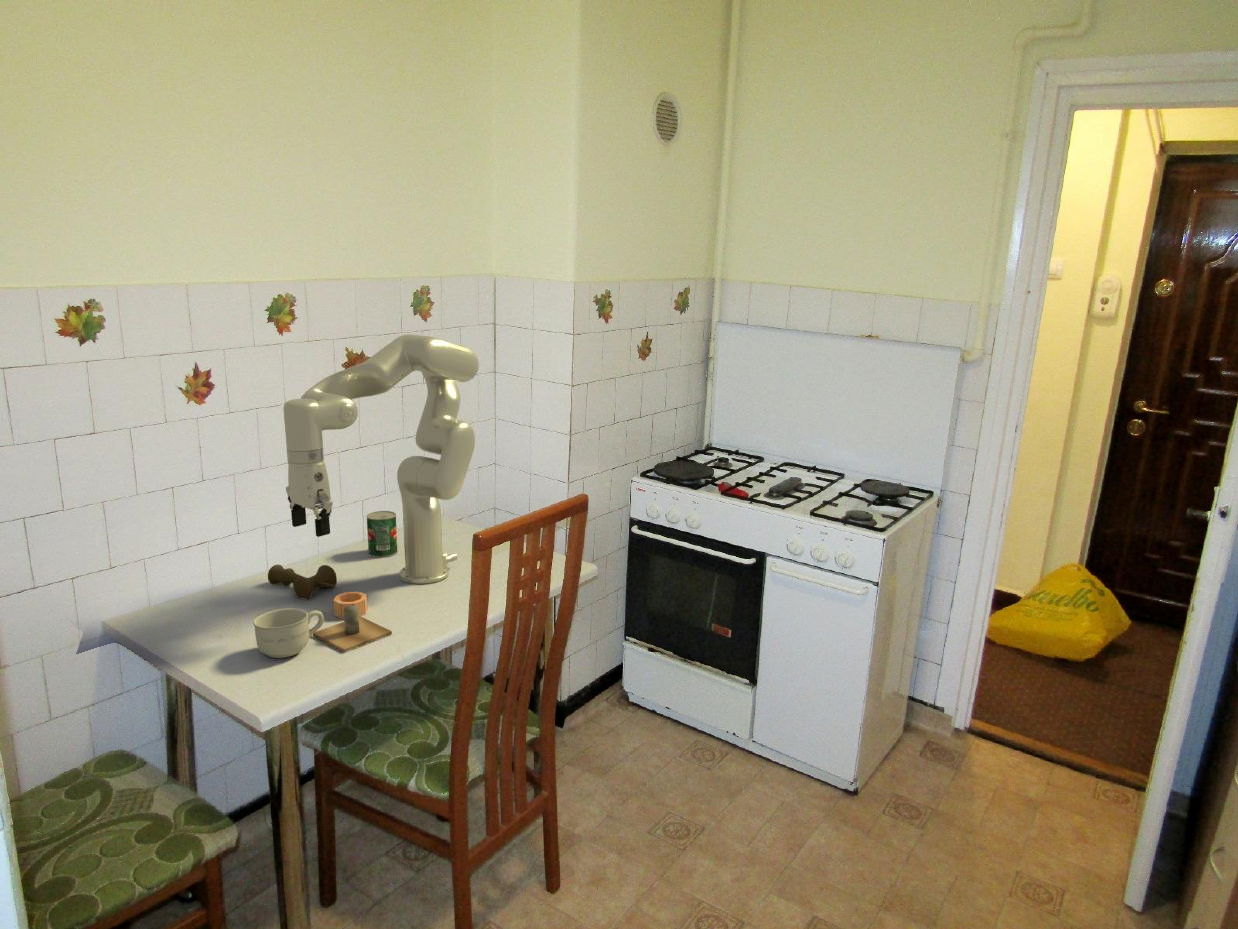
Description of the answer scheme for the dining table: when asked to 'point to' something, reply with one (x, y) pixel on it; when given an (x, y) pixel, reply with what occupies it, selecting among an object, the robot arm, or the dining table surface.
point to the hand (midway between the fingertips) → (311, 530)
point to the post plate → (352, 640)
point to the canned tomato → (382, 533)
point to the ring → (350, 603)
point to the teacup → (284, 631)
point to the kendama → (303, 579)
